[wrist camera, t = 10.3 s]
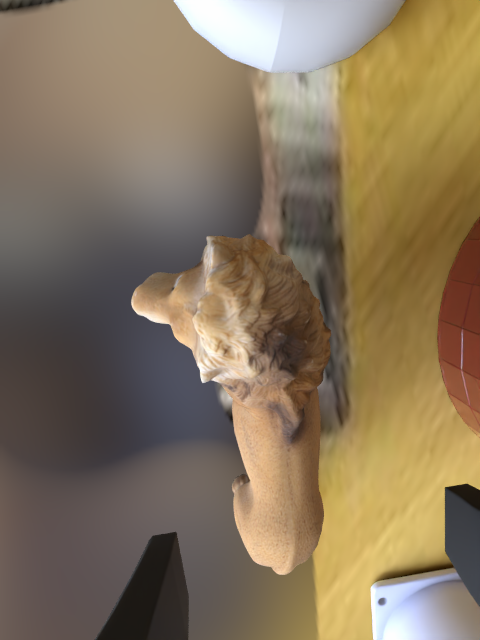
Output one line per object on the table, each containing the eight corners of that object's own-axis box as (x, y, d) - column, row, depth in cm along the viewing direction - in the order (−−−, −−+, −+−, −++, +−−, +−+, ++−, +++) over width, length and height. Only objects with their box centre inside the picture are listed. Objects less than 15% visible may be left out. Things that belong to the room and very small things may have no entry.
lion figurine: (151, 250, 17) (89, 272, 8) (270, 216, 17) (339, 200, 8) (243, 526, 20) (270, 754, 11) (340, 496, 20) (443, 700, 11)
